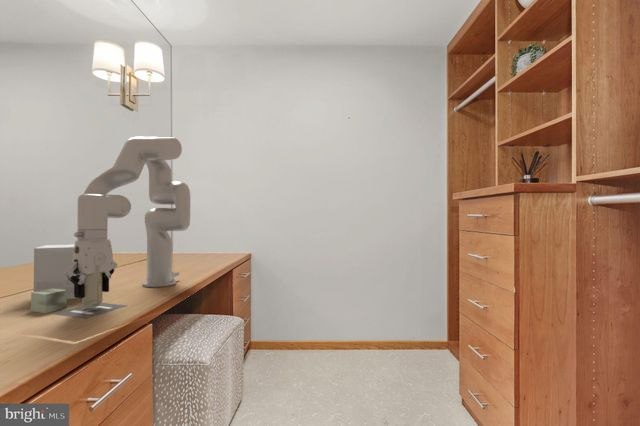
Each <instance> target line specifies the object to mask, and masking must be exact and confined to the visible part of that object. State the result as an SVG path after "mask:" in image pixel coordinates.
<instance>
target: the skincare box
mask: <svg viewBox="0 0 640 426" xmlns="http://www.w3.org/2000/svg"><path fill="white" fill-rule="evenodd" d="M82 284H84V285H85V297H84V298H81V306H82V308H91V307H98V306H100V304H101V303H103V292H102V273H99V266H95V273H94V274H92V275H86V277H85V279H84V281H83V283H82Z"/></svg>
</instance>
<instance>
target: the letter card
mask: <svg viewBox="0 0 640 426" xmlns="http://www.w3.org/2000/svg"><path fill="white" fill-rule="evenodd" d="M125 307H127V304H117V303H107V302H102V303H101V304H100V306H98V307H91V308H82V305H80V306H77V307H73V308H69V309H65V310H62V311H58V312H53V313H52V315H55V316H64V317H72V318H76V319H77V318H78V319H84V320H87V319H89V318H92V317H95V316H99V315H104V314H105V313H109V312H113V311H115V310H118V309H122V308H123V309H124V308H125Z"/></svg>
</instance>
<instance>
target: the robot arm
mask: <svg viewBox="0 0 640 426" xmlns="http://www.w3.org/2000/svg"><path fill="white" fill-rule="evenodd" d="M182 150H183V147H182V144H181V142H180V140H179V139H178V138H176V137H169V136H168V137H167V136H166V137H163V136H162V137H160V136H159V137H158V136H134V137H130V138H128V139H127V140H126V141H125V143H124V145H123V146H122V148H121V150H120V152H119V154H118V156H117V158H116V160H115V162H114V164H113V165H112V167H110V168H108V169H107V170H105V171H104V172H102V173H101V174H99V175H98V176H96V177H95V178H94V179H93V180H91V182H90V183H89V184H88V186H86V189H85V191H84V192H83V193H82V194H80V195H78V197H77V229H76V230H77V232H74V233H73V236H74V237H75V238H76V239H77V240H75V241H74V242H75V243H74V244H75V245H74V250H73V258H72V265H71V266H70V267H69V268H67V269H66V270H65V271H64V275H65V276H66V277H67V278H68V279H69V280H70V281H71V282H72V284H74V297H76V298H75V299H82V298H84V297H85V285H84V284H82V283H83V281H84V279H85V277H86V275H92V274H94V273H95V266H99V273H102V293H108V292H110V279H111V278H112V275H113V274H114V272H115V271H116V268H117V267H118V263H116V262H115V261H114V256H113V247H112V243H111V240H110V238H108V219H121V218H124V217H126V216H127V215H129V213H130V212H131V209H132V203H131V202H130V200H129V199H128V198H127V197H126V196H124V195H121V194H108V193H110V192H112V191H114V190H116V189H117V188H121V187H123V186H127V185H129V184H132V183H134V182H136V181H137V180H138V179H139V178H140V176H141V173H142V171H143V169H144V167H145V165H146V167H147V169H148V197H149V200H150V201H149V202H151V203H152V204H154V205H162V206H163V205H164V206H165V205H166V206H167V205H169V206H171V205H174V206H175V207H154V208H150V209H149V210H147V211H146V213H145V215H144V223H145V231H146V248H147V249H146V280H145V281H143V282H142V287H145V288H162V287H169V286H173V285H175V284H177V280H176V279H175V277H179V276H180V272H179V271H173V240H172V237H171V235H170V234H169V232H183V231H186V230H187V229H189V227H190V223H191V191H190V188H189V185H188V184H186V183H185V182H182V181H173V180H172V178H173V177H172V169H171V166H170V165H169V163H168V162H167V161H170V160H176V159H178V158H180V157H181V154H182ZM73 273H74V274H75V276H74V274H73ZM79 277H80V278H79Z"/></svg>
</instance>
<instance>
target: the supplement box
mask: <svg viewBox="0 0 640 426" xmlns="http://www.w3.org/2000/svg"><path fill="white" fill-rule="evenodd" d="M74 245H75V243H71V244H45V245H42V246H37V247H34V248H33V292H38V291H43V290H48V289H61V290H67V300H71V299H72V300H73V299H74V300H75V299H77V298H76V297H74V284H72V282H71V281H70V280H69V279H68V278H67V277H66V276H65V275H64V271H65V270H66V269H67V268H69V267H70V266H71V265H72V258H73V250H74ZM73 274H74V273H73ZM74 276H75V274H74ZM79 278H80V277H79Z"/></svg>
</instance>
